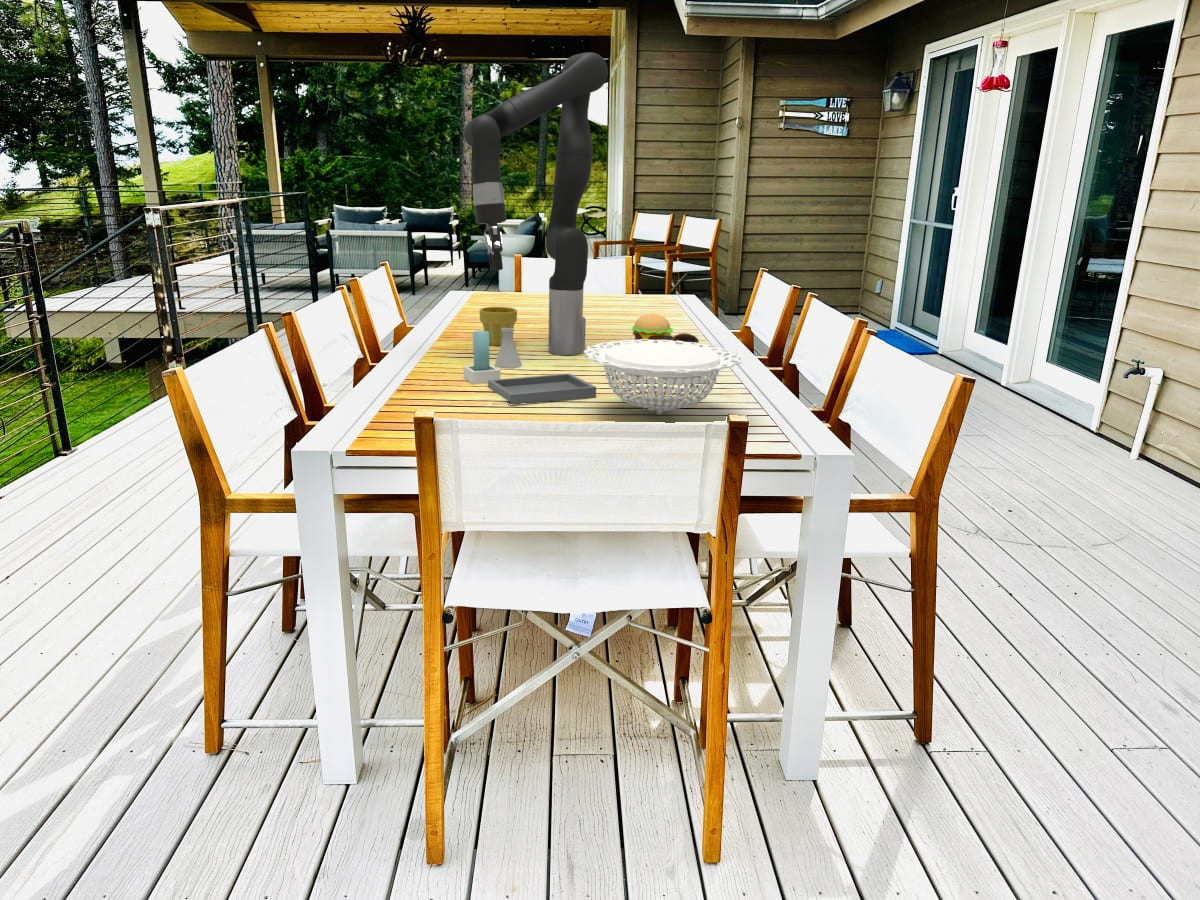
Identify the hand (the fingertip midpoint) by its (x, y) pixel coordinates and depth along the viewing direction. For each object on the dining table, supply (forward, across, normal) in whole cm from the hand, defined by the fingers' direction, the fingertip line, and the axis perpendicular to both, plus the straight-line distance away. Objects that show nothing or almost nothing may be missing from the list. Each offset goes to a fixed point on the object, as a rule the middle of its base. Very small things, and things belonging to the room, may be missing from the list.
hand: (496, 270), depth 213 cm
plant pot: (+21, +25, -1) cm, 32 cm away
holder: (+25, -22, +8) cm, 34 cm away
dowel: (+24, -22, +8) cm, 33 cm away
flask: (+24, -8, +1) cm, 25 cm away
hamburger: (+26, +22, -44) cm, 56 cm away
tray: (+27, -33, -4) cm, 43 cm away
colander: (+31, -52, -25) cm, 66 cm away
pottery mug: (+28, 0, -46) cm, 54 cm away
